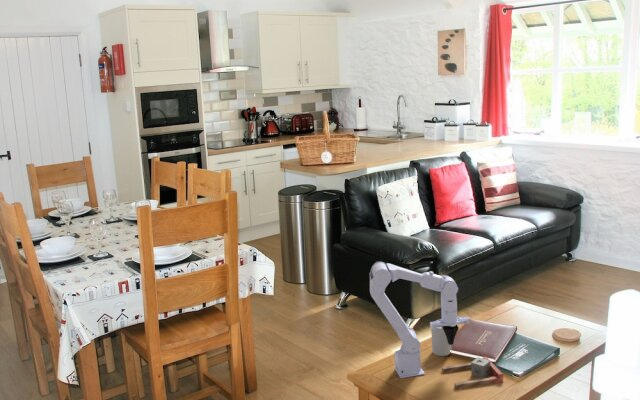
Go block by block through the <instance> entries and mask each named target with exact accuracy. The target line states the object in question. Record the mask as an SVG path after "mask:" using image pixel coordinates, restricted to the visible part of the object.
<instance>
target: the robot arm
mask: <svg viewBox="0 0 640 400" xmlns="http://www.w3.org/2000/svg"><path fill="white" fill-rule="evenodd" d="M399 279H402V280H404V281H405V280H406V281H411V282H414V283H418V284H419V285H420V286H421V288H424V289H427V290H432V291H436V292H440V310H441V311H440V312H441V315H440V316H441V319H440V318H439V319H437V320H434V321H430V322H429V328H430V330H431V329H435V328H437V327H442V328H443V330H444V332H445V335H446V337H447V341H448V344H449V345H451V346H452V345H454V341H455V337H456V335H457V333H458V331H459V329H460V328H459V326H458V325H464V324H465V325H468V324H470V318H469V317H468V316H463V317H460V316H459V317H458V301H457V300H458V299H457V293H458V292H459V287H458V285H457V283H456V281H455V280H454V279H453V277H451V276H449V275H444V274H443V275H438V274H436V273H434V271H428V272H427V271H425V272H422V273H419V272H417V271H413V270H410V269H408V268H404V267H401V266H398V265H395V264H392V263H388V262H387V263H386V262H383V261H376V262H375V263H374V264H373V265H372V266H371V268H370V272H369V293H370V296H371V298H372V299H373V301H374V302H375V304H376V305H377V306H378V308H379V309H380V311H381V312H382V314H383V316H385V318H386V319H387V321H388V323H389V324H390V325H391V327H392V328H393V330H394V331H395V332H396V334H397V336H398V338H399V340H400V341H401V346H400V349H398V350H396V351H394V353H393V354H394V370H395V372H396V373H397V375H398V377H399V378H400V379H403V378H411V377H418V376H422V375H423V376H424V375H426V373H425V371H424V370H423V369H422V365H421V342H420V340H419V338H418V336H417V333H416V331H415V330H414V329H413V328H411V327H410V326H409V325H408V324H407V323H406V321H405V320H404V319H403V317H402V316H401V315H400V313H399V312H398V310H397V309H396V307H395V306H394V305H393V303H392V302H391V300H390V299H389V297H388V296H387V295H386V293H385V291H386V288H387V287H388V285H389V284H390V283H391V282H392V283H394V282H395V281H397V280H399Z"/></svg>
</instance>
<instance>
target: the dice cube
mask: <svg viewBox="0 0 640 400" xmlns="http://www.w3.org/2000/svg"><path fill="white" fill-rule="evenodd" d="M489 360H490V359H489ZM489 360H486V359H483V357H482V358H481V357H476V358H475V359H474V360H472V361H471V362H470V363H471V369H470V371H471V372H470V373H471V376H473V375H474V377H477V378H479V379H484V378H488V376H489V375H490V374H491V367H490V361H491V360H490V361H489Z"/></svg>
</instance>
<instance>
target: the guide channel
mask: <svg viewBox="0 0 640 400" xmlns="http://www.w3.org/2000/svg"><path fill="white" fill-rule="evenodd" d="M482 359H486V360H489V361H490V367H491V373H490V374H491V375H492V376H490V377H485V378H484V379H483V378H479V379H473V380H467V381H466V380H464V381H460V382H459V381H458V382H454V388H455V390H459V389H465V388H472V387H478V386H485V385H491V384H497V383H503V382H504V373H503V372H501V371H502V370H500V369H499V368H498V367H497V365H495V364H494V363H493V362H492V361H491V360H490V359H489V358H488V357H487V356H483V357H482ZM470 368H471V362H468V363H462V364H461V363H459V364H455V365H454V364H452V365H448V366H443V367H441V371H442V372H443V373H451V372H457V371H465V370H469V369H470ZM470 370H471V369H470Z"/></svg>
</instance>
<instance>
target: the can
mask: <svg viewBox="0 0 640 400" xmlns="http://www.w3.org/2000/svg"><path fill="white" fill-rule="evenodd" d="M430 330H431V347H432V348H431V349H432V353H433V354H434V355H435V356H438V357H445V356H446V357H447V356H448V355H450V354H451V353H450V349H451V350H452V345H449V344H448V341H447V337H446V335H445V332H444V330H443V328H442V327H437V328H435V329H431V328H430Z"/></svg>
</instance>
